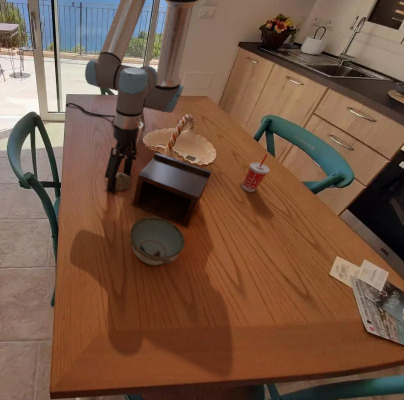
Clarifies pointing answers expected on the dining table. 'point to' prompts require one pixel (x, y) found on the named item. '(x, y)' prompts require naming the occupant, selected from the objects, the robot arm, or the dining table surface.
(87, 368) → the dining table surface
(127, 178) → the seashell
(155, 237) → the bowl
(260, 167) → the beverage cup
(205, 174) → the shelf
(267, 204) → the dining table surface
